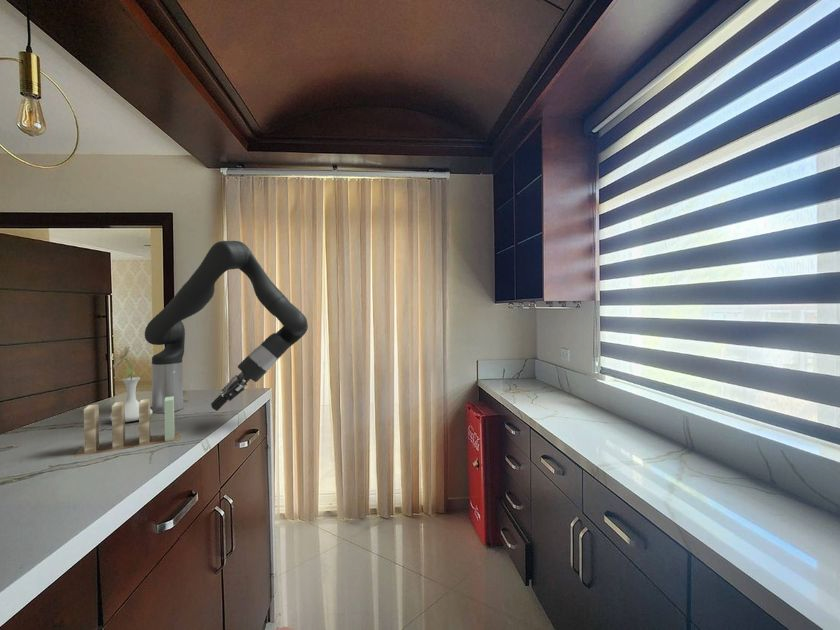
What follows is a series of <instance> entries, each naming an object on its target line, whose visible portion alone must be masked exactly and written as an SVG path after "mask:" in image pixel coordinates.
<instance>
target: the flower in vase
mask: <svg viewBox="0 0 840 630" xmlns="http://www.w3.org/2000/svg"><path fill="white" fill-rule="evenodd" d="M130 348H131V347H130V345H128V346H125V347H124V349H123V350H121V351H120V352H119V355H118V357H117V358H116V359H115V363H114V364H113V365H112V367H113V369H114V370H115V369H117V368H119V367H120V366H121V365H122V363H124V361H126V362H127V364H128V365H129V366H128V367H127V368H126V369H125V373H126V374H128V377H125V378H122V379H121V381H122V382H123V383H124V385H125V388H126V394H127V395H126V400H125V401H124V402H125V423H130V422H136V421H139V403H140V401H138V400H137V396H136V394H137V393H136V392H137V391H136V390H137V385H138V383H139V381H140V380H141V377H138V376H137V377H134V376H133V375H135V374H136V371H134V369H133V367H132V364H131V363H130V362H129V360H128V359H127V356H128V354H129V353H130ZM153 413H154V412H153V410H152V408H150V416H151V415H153ZM109 420H111V421H112V413H111V414H110V416H109Z"/></svg>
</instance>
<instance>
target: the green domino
mask: <svg viewBox="0 0 840 630" xmlns="http://www.w3.org/2000/svg"><path fill="white" fill-rule="evenodd" d="M164 410H165V413H164V435H165V441H169V440H174V434H175V411H174V396H172V397H165V400H164Z"/></svg>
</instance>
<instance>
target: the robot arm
mask: <svg viewBox="0 0 840 630" xmlns="http://www.w3.org/2000/svg"><path fill="white" fill-rule="evenodd" d="M237 269H238V270H240V271H241V272H242V273H243V274H245V276H246V277H247V278H248V279H249V280H250V283H251V285H252V287H253V292H254V294H255V296H256V298H257V300H258V301H259V303H261V305H262V306H263V307H264V308H265V309H266V310H267V311H268V312H269V314H271V315H272V316H274V317H276V319H277V320H278V321H279V323H280V324H282V327H281V328H280V329H279V330H277V331H276V332H274V333H271V334H270V335H268V337H267V338H266V339H264V341H263V342H261V343H260V344H259V345H258V346H257V347H255V348H254V349H253V350H252V351H250V353H249V354H248V355H247V356H246V357H245V358H244V359H243V360H242V361H241V362H240V363H239V364H238V365H237V368H238V370H239V371H241V372H240V373H239V374H235V375H234V376H232V377H231V379H230V380H229V381H228V382H227V383H226V385H225V386H224V387H223V388H222V389H221V391H220V394H219V395H218V396H217V397H216V398H215V399H213V401H212V402H211V403H210V405H211V408H212V409H213V410H215V411H216V412H217V411H219V410H220V409H221V408H222V407H223V406H224V405H225V404H226V403H227V402H230V401H232V400H233V399H234V398H236V397H237V396H238V395H239V394H241V393H242V392H243V391H245V388H246V387H247V386H248V384H247V383H248V382H249V381H250V380H251V381H253V382H255V383H257V382H259V381H260V380H261V379H262V378H263V377H264V376H265V374H267V372H268V371H269V370H270V369H272V367H273V366H274V365H275V363H276V362H277V361H278V360H279V359H280V358H281V357H282V356H283V354H284V353H285V352H287V350H288V349H289V348H290V347H292V346H293V345H294V344H295V343H297V342H298V341H300V339H301V338H303V336H304V335H305V334H306V333H307V331H308V328H309V326H308V318H307V317H306V315H304V314H303V312H302V311H301V310H300V309H299V308H298V307H296V306H295V305H294V304H293V303H291V302H290V300H289V299H288V298H287V297H286V296H285V294H283V292H282V291H281V290H280V289H279V288H278V287H277V286H276V285H275V283H274V282H273V281H272V280H271V279H270V277H269V276H268V275H267V273H266V272H265V270H264V268H262V265H260V263H259V262H258V260H257V259H256V257H255V255H254V253H252V250H251V249H250V248H249V247H248V245H247V244H245V243H244V242H242V241H239V240H220V241H217V242H216V243H214V244H213V245H212V246H211V247H210V249H209V250H208V252H207V254H205V256H204V258H203V260H202V261H201V263H200V264H199V266H198V268H197V269H196V270H195V271H194V272H193V274H191V276H190V277H189V279H188V280H187V281H186V282H185V283H184V284H183V285H182V286H181V288H180V289H179V290H178V292H177V293H176V294H175V295H174V297H173V298H171V300H170V301H169V302H168V304H166V305H165V307H164V308H163V309H162V310H161V311H159V313H158V314H156V315H155V316H154V317H152V319H151V320H150V321H149V322H148V323H147V325H146V327H145V330H144V338H145V341H147V343H149V344H151V345H156V346H164V345H165V347H164V348H163V350H161V351H160V352H158V353H156V354H154V355H152V357H151V407H152V408H151V410H152V411H153V413H155V414H156V413H157V414H159V413H160V414H165V410H164V400H165V397H172V396H174V412H176V411H181V410H182V409H183V408H184V401H183V400H184V398H183V397H184V394H183V393H184V391H183V389H184V388H183V387H184V385H183V383H184V382H183V378H184V377H183V358H184V354H185V340H186V339H185V338H186V331H185V325H184V323H183V322H182V321H183V320H186V319H188V318H189V317H191V316H193V315H195V314H197V313H199V312H200V311H202V310H203V309H204V308H205V307H206V306H207V304H208V303H209V302H210V301H211V300H212V298H213V297H214V293H215V285H216V282H217V280H218V279H219V278H220V277H221V276H222V275H223V274H225V273H226V272H228V271H230V270H237Z"/></svg>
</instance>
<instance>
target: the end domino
mask: <svg viewBox="0 0 840 630" xmlns="http://www.w3.org/2000/svg"><path fill="white" fill-rule="evenodd" d="M99 411H100V407H99V403H98V404H97V403H96V404H89V405H87V406H86V407H84V408H83V434H84V435H83V437H84V439H83V440H84V444H83V445H84V446H83V447H84V448H85V454H86V453H93V452H96V450H97V449H98V447H99V445H100V412H99Z"/></svg>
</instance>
